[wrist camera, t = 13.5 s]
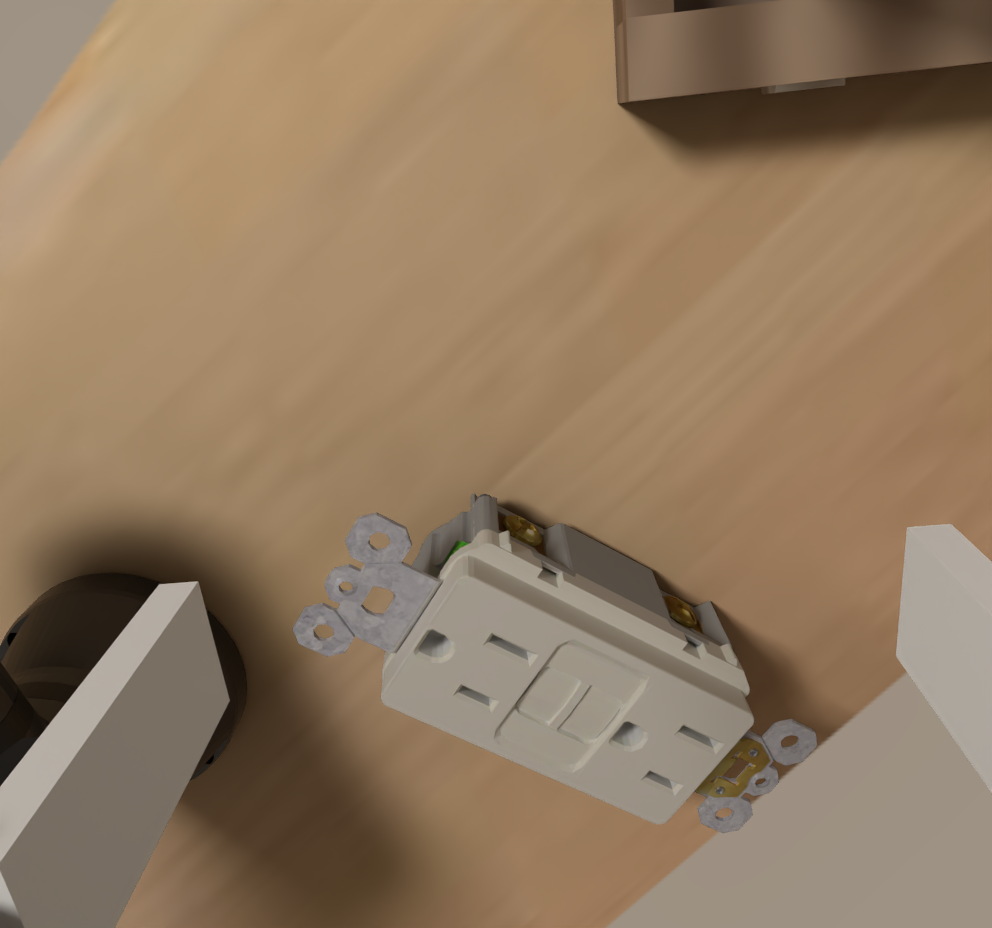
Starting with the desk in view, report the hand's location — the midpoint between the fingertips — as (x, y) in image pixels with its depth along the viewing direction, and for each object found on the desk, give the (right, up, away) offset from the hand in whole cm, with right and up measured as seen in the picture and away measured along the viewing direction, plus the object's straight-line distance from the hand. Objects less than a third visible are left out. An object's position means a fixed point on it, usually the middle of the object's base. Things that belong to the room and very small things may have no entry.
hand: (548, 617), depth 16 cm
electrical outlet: (+3, -6, +37) cm, 37 cm away
